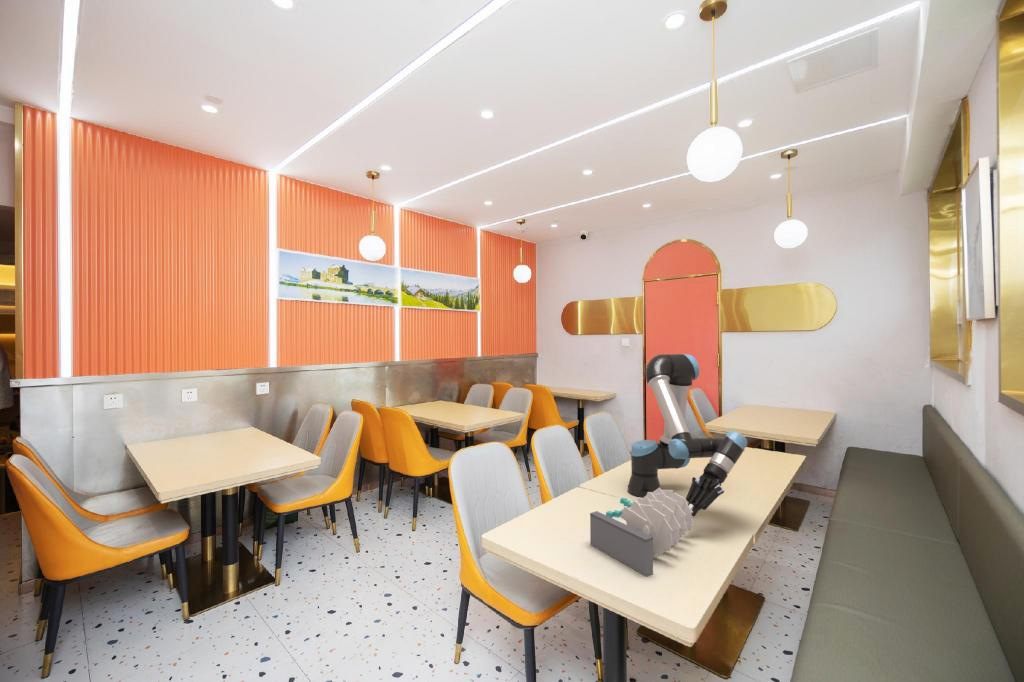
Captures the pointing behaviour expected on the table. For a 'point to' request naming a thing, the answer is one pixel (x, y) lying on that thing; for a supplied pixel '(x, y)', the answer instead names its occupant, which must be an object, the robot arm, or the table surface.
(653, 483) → the robot arm
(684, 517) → the spiral staircase
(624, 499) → the alien figure
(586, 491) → the table surface
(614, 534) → the slate board
